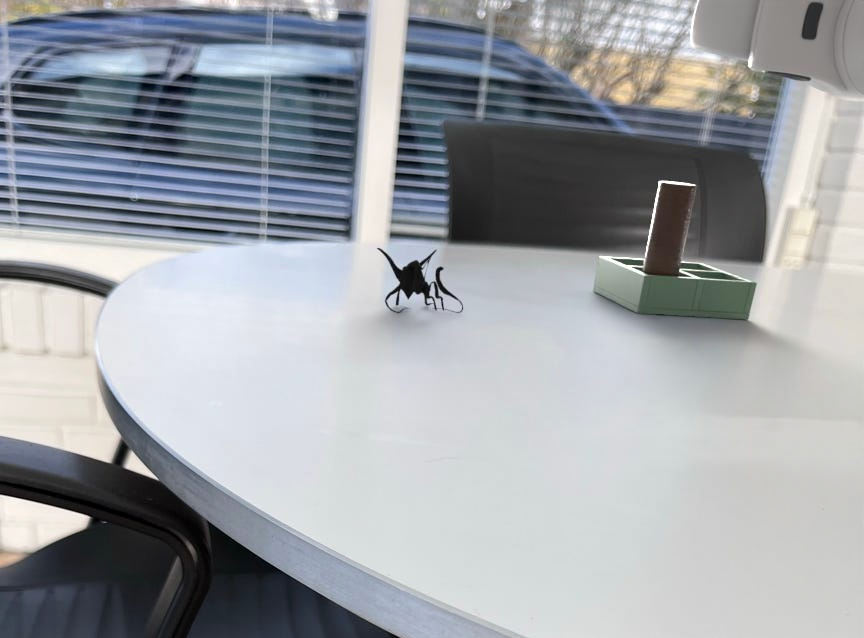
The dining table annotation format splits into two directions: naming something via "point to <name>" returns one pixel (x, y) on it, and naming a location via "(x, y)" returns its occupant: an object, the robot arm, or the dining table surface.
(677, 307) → the grid
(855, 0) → the robot arm
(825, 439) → the dining table surface
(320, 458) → the dining table surface
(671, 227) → the brown cylinder
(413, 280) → the creature
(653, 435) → the dining table surface
